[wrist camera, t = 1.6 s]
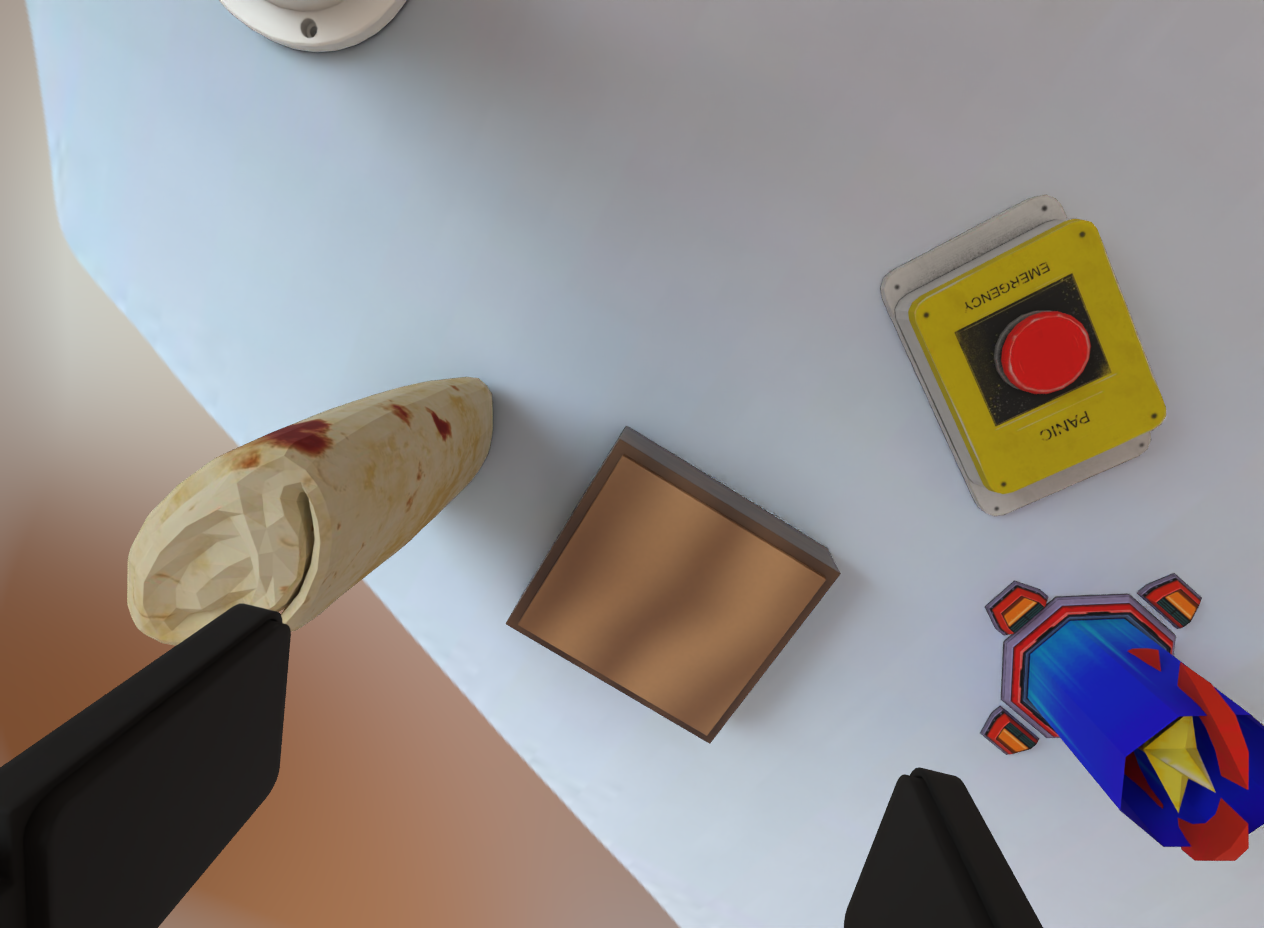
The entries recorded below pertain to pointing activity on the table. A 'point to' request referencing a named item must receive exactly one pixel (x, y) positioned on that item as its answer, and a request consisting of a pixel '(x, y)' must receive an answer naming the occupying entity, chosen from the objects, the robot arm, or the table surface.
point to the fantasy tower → (1132, 712)
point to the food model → (307, 508)
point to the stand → (672, 586)
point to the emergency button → (1026, 354)
